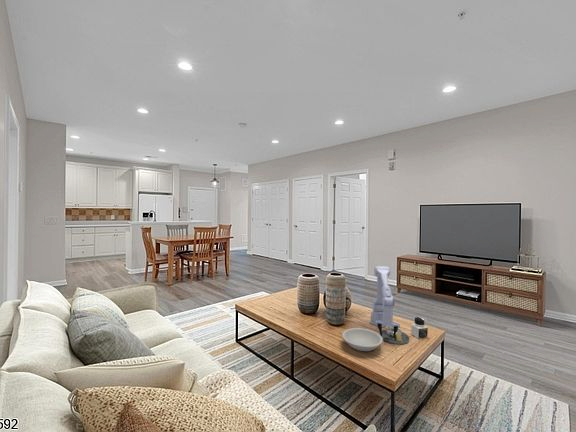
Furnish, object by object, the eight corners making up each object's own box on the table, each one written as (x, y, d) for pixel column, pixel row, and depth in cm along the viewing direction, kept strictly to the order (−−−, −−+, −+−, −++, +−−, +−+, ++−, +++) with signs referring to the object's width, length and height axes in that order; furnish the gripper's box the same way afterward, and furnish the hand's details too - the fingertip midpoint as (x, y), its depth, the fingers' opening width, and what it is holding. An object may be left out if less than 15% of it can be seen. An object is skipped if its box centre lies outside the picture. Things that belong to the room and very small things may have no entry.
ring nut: (394, 341, 172) (394, 336, 172) (381, 330, 188) (381, 325, 188) (407, 340, 173) (408, 335, 173) (393, 329, 189) (393, 324, 189)
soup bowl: (352, 334, 185) (352, 324, 185) (388, 346, 170) (388, 335, 170) (334, 348, 167) (334, 337, 166) (373, 363, 151) (373, 351, 151)
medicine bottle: (418, 339, 179) (419, 321, 178) (410, 334, 186) (411, 316, 185) (427, 338, 181) (428, 320, 180) (419, 333, 188) (420, 315, 187)
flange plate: (373, 335, 183) (374, 333, 183) (390, 329, 193) (390, 326, 193) (398, 347, 168) (398, 344, 168) (414, 339, 178) (414, 337, 178)
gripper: (375, 316, 174) (375, 337, 175) (400, 320, 169) (399, 341, 169) (376, 312, 181) (375, 332, 181) (400, 315, 175) (399, 336, 176)
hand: (387, 336), depth 176 cm, fingers open, 7 cm apart
